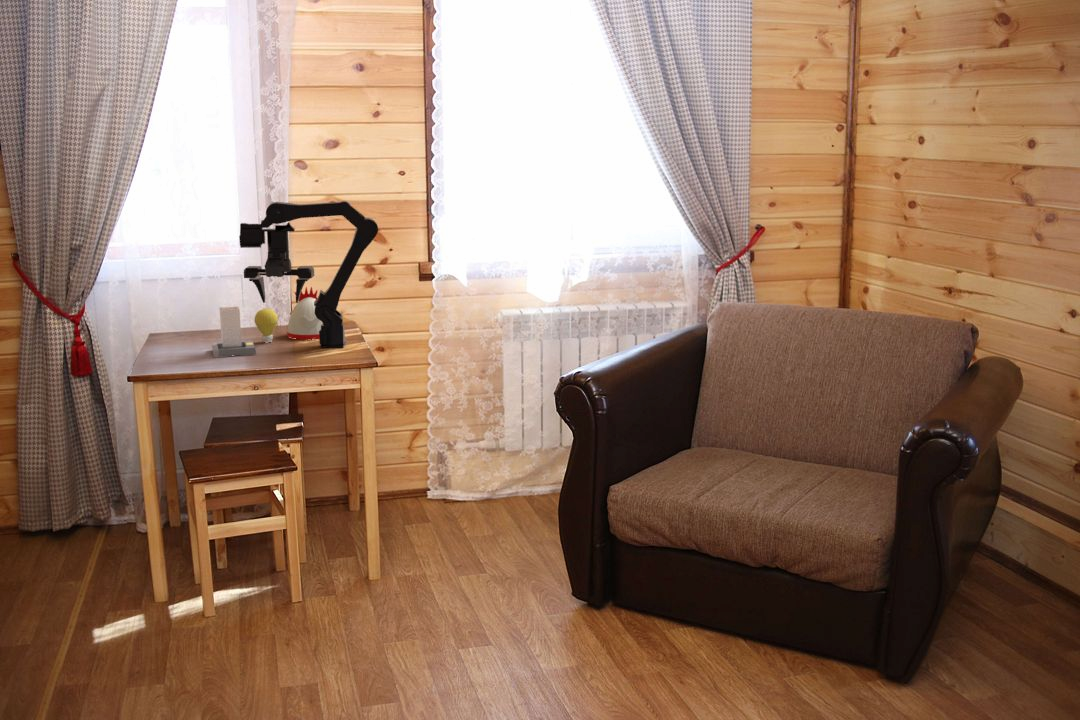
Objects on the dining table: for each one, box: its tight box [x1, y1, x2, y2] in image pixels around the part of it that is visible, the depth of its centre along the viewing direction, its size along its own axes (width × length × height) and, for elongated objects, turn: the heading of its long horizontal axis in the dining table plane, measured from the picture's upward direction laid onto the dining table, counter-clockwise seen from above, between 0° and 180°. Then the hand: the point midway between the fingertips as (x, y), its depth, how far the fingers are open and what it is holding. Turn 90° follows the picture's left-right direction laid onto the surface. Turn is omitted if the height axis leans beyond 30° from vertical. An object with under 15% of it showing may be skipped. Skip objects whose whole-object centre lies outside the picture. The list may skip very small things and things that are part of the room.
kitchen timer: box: [286, 286, 323, 341], centre depth 320 cm, size 14×14×15 cm
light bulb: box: [254, 308, 279, 343], centre depth 310 cm, size 7×7×10 cm
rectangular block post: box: [218, 306, 242, 349], centre depth 296 cm, size 5×5×12 cm
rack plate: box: [211, 340, 256, 358], centre depth 297 cm, size 11×10×2 cm
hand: (280, 302), depth 301 cm, fingers open, 9 cm apart
